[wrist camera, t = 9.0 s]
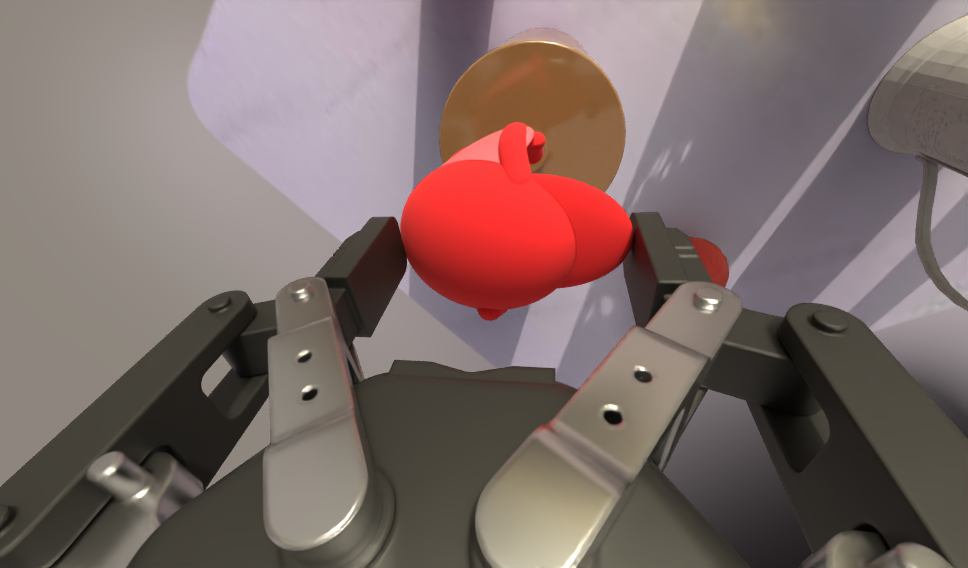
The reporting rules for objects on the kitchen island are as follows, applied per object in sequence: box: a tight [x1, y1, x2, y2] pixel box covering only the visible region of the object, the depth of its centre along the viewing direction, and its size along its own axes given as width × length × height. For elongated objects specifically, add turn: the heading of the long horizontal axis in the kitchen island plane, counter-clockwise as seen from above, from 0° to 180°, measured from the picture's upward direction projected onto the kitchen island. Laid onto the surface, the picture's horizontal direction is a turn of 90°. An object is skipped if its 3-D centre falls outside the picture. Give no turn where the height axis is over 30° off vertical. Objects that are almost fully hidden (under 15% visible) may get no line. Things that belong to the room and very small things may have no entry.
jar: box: [439, 28, 626, 192], centre depth 24 cm, size 10×10×13 cm
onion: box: [689, 238, 729, 287], centre depth 32 cm, size 6×6×8 cm
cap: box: [400, 122, 634, 321], centre depth 13 cm, size 8×6×6 cm
